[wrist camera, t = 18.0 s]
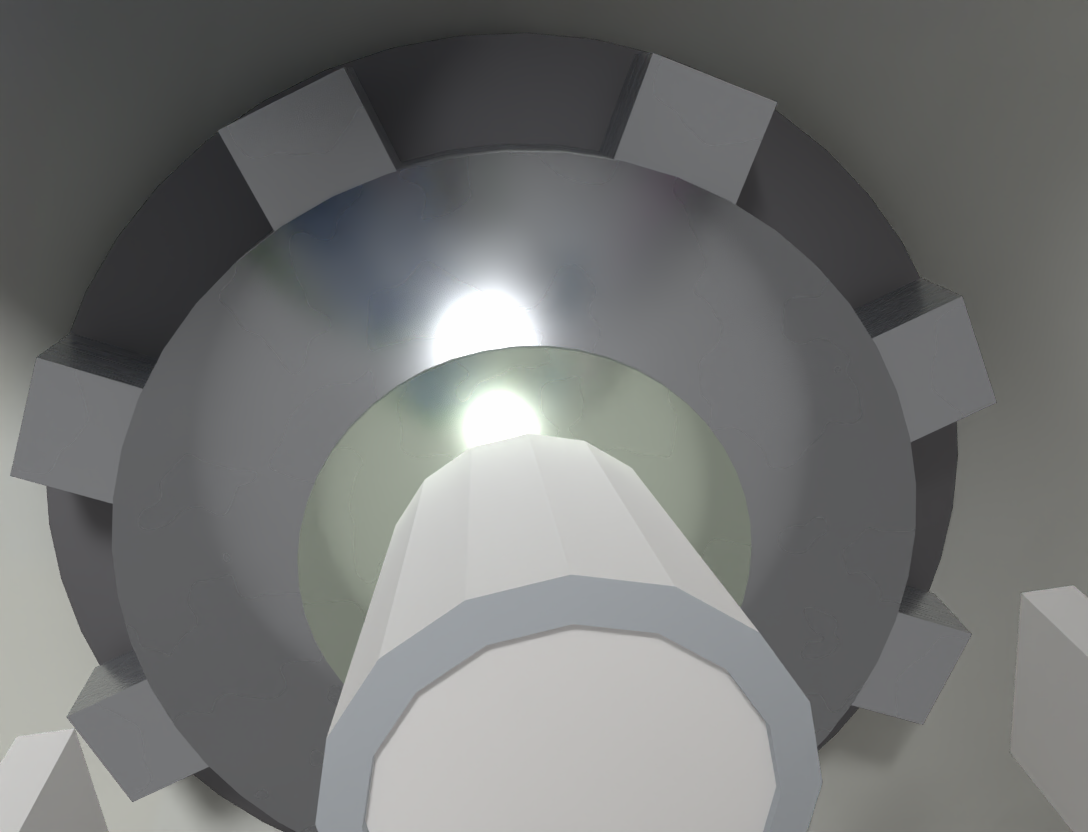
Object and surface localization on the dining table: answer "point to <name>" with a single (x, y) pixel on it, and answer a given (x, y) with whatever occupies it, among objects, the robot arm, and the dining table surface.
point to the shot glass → (559, 667)
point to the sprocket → (493, 415)
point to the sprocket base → (425, 128)
